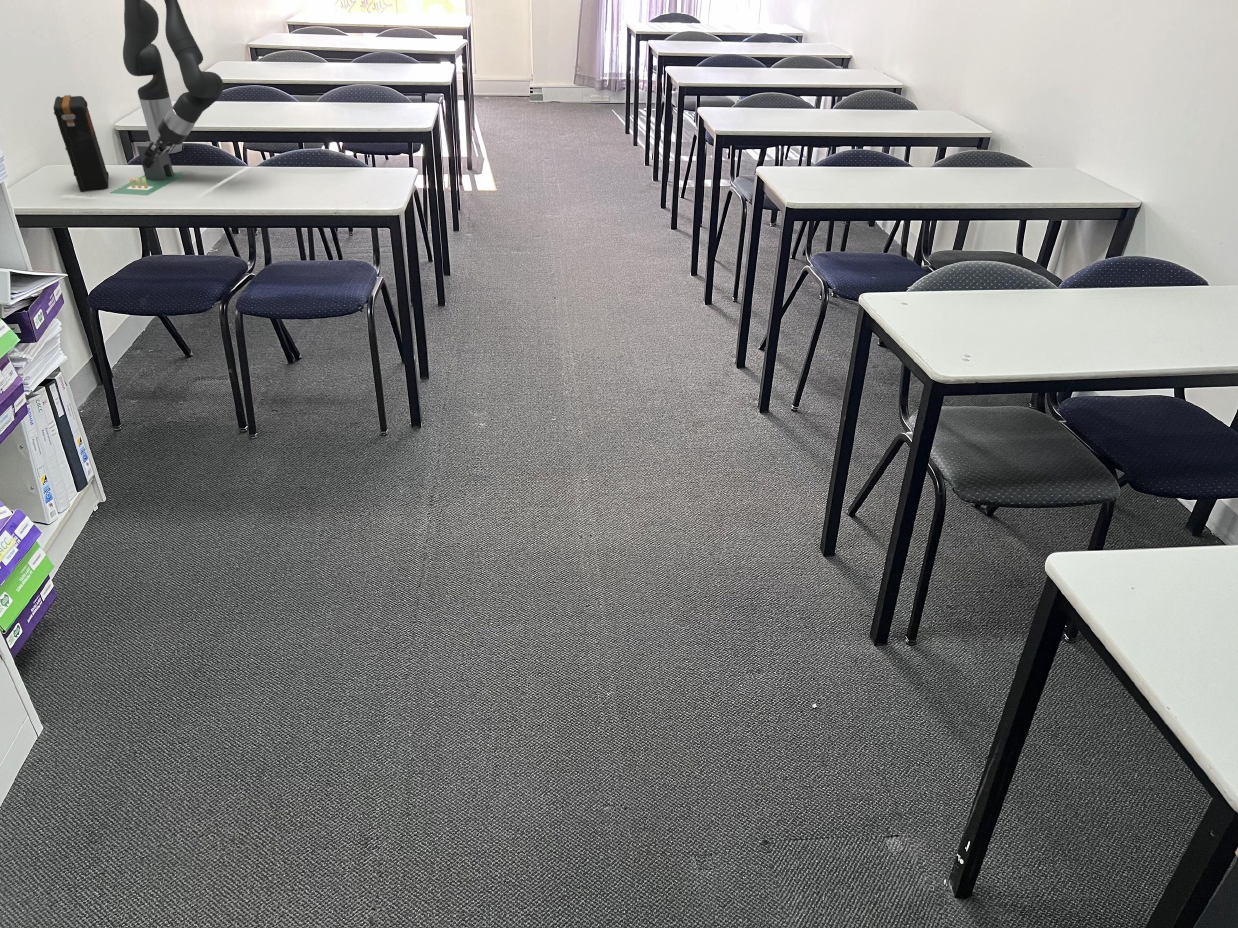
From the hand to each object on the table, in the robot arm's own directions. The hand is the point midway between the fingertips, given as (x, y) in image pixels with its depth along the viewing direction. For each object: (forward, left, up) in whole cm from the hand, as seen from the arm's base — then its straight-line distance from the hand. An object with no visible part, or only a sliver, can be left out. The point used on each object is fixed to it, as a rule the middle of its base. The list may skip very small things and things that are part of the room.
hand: (151, 163), depth 275 cm
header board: (+6, +2, -5) cm, 8 cm away
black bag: (+9, -14, -6) cm, 18 cm away
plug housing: (0, +2, -4) cm, 5 cm away
